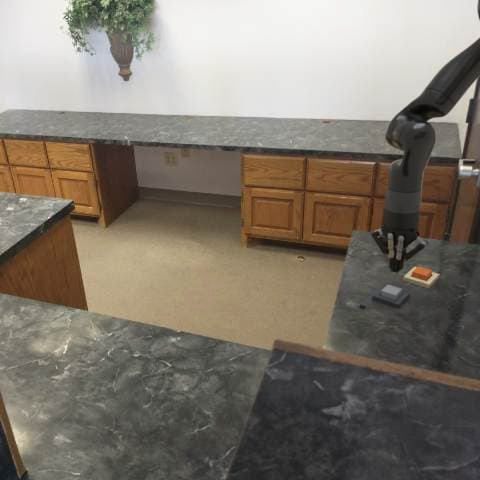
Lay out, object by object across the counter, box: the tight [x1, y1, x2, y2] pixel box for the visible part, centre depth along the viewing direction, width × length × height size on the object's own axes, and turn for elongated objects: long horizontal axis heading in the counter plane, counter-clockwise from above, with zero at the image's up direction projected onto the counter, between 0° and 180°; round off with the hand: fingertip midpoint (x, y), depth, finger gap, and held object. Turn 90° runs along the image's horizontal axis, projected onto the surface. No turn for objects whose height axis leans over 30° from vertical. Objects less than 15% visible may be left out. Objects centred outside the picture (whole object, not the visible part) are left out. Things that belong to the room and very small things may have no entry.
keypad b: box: [359, 283, 411, 310], centre depth 128 cm, size 12×10×3 cm
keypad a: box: [402, 266, 440, 289], centre depth 134 cm, size 12×10×3 cm
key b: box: [381, 284, 403, 301], centre depth 127 cm, size 4×4×2 cm
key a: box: [412, 266, 433, 281], centre depth 133 cm, size 4×4×2 cm
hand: (395, 270), depth 124 cm, fingers closed
